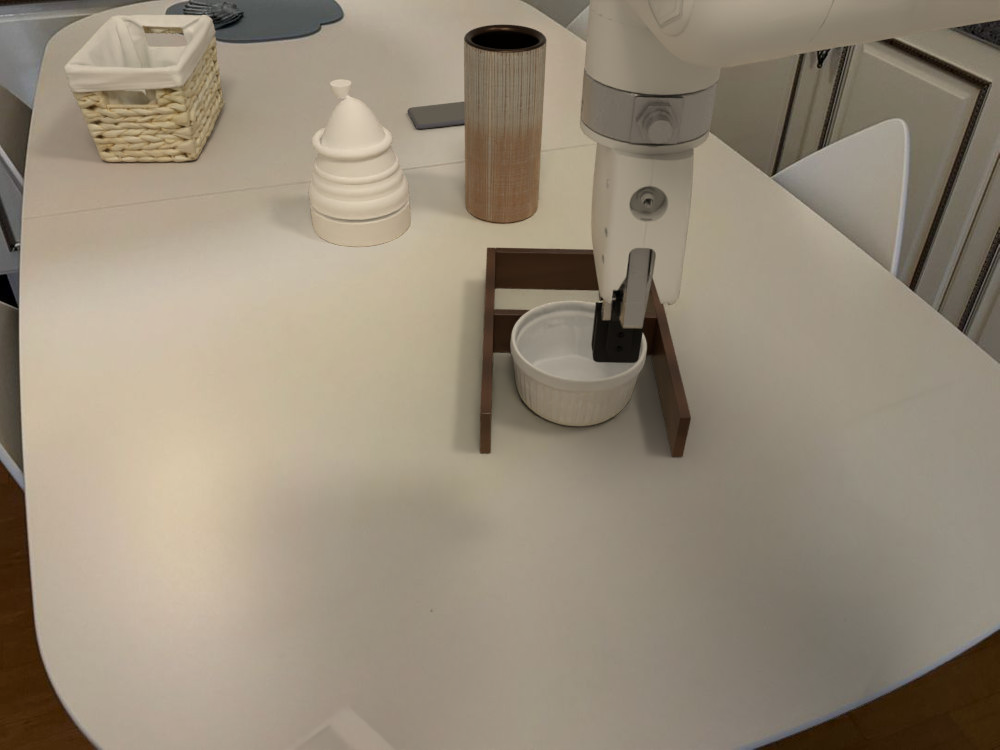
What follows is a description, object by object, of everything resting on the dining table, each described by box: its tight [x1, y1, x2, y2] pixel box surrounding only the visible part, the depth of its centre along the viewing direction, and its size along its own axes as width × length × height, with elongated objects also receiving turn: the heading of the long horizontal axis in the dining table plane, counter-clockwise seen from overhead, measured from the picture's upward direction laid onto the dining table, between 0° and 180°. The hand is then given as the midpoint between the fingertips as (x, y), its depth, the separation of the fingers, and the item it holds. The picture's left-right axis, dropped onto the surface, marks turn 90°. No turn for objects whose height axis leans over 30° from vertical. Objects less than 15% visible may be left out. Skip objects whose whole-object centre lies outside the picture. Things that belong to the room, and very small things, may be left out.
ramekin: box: [510, 300, 647, 427], centre depth 85 cm, size 13×13×7 cm
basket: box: [63, 14, 226, 163], centre depth 129 cm, size 24×16×15 cm
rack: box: [479, 247, 692, 458], centre depth 89 cm, size 29×19×5 cm, turn 179°
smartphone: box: [407, 101, 465, 130], centre depth 141 cm, size 8×1×15 cm
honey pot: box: [308, 78, 411, 248], centre depth 108 cm, size 13×13×18 cm
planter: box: [463, 24, 548, 224], centre depth 110 cm, size 10×10×23 cm
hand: (614, 355), depth 61 cm, fingers closed
